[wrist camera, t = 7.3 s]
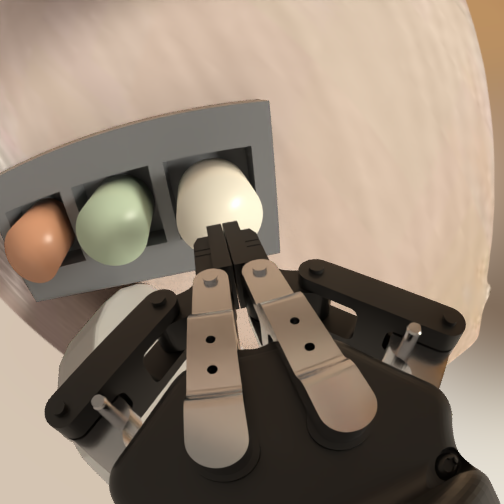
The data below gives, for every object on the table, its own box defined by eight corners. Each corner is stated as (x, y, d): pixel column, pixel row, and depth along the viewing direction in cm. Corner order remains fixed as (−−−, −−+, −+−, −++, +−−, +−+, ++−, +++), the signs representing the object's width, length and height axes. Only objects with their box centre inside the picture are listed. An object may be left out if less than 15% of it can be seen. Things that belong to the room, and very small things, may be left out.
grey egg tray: (-1, 173, 16) (-18, 185, 14) (258, 99, 19) (269, 100, 17) (46, 282, 23) (36, 301, 21) (270, 235, 26) (280, 252, 23)
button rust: (20, 207, 18) (-5, 232, 14) (64, 190, 18) (41, 215, 14) (41, 256, 20) (22, 287, 17) (84, 244, 21) (69, 276, 17)
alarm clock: (77, 302, 25) (42, 491, 9) (113, 258, 24) (75, 490, 7) (217, 379, 36) (247, 514, 20) (259, 352, 35) (306, 498, 19)
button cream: (171, 165, 18) (167, 186, 15) (243, 152, 19) (258, 169, 15) (185, 229, 21) (186, 263, 17) (250, 216, 22) (265, 246, 18)
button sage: (85, 184, 18) (65, 207, 15) (145, 167, 19) (136, 187, 15) (104, 239, 21) (91, 271, 18) (161, 226, 22) (157, 257, 18)
